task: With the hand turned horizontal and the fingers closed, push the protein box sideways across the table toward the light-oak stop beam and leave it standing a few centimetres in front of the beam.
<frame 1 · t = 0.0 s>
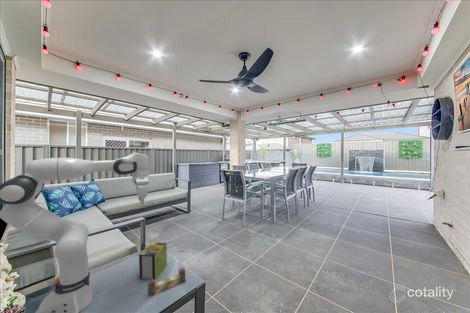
hand: (141, 202, 107), 48 cm above the table, tool pointing down, fingers open, 8 cm apart
stop beam: (167, 287, 104), on the table
protein box: (153, 271, 117), on the table
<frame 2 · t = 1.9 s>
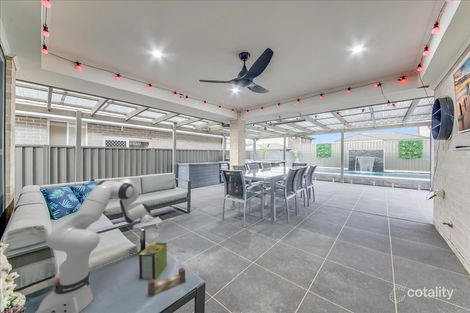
hand: (149, 229, 131), 21 cm above the table, tool horizontal, fingers open, 8 cm apart
nothing on the table moved.
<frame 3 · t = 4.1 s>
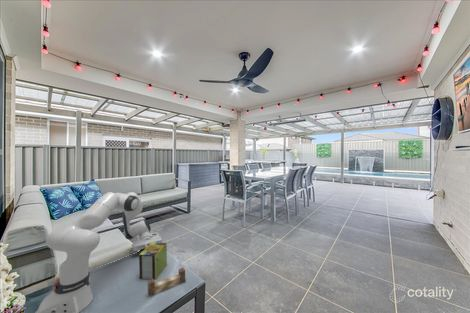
hand: (149, 248, 132), 7 cm above the table, tool horizontal, fingers closed
nothing on the table moved.
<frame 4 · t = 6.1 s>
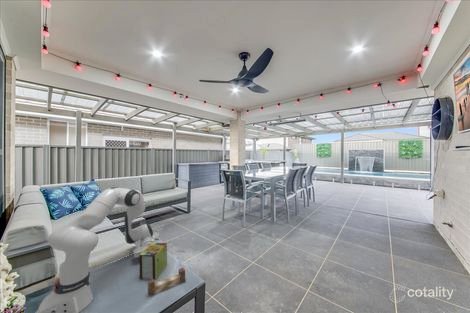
hand: (151, 254, 124), 7 cm above the table, tool horizontal, fingers closed
protein box: (154, 271, 117), on the table, touching gripper
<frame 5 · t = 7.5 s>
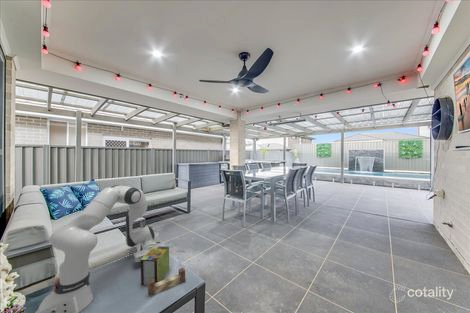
hand: (153, 258, 119), 7 cm above the table, tool horizontal, fingers closed
protein box: (156, 277, 112), on the table, touching gripper
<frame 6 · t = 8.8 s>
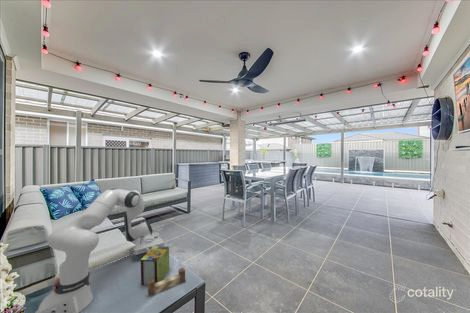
hand: (151, 251, 127), 7 cm above the table, tool horizontal, fingers closed
protein box: (156, 277, 112), on the table
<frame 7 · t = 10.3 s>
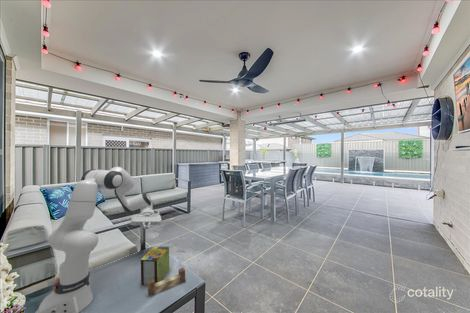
hand: (146, 228, 124), 25 cm above the table, tool tilted 70°, fingers closed
nothing on the table moved.
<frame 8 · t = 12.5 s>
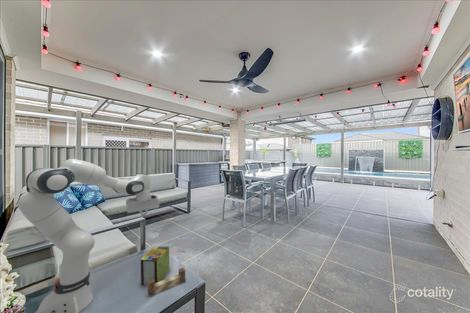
hand: (143, 216, 124), 33 cm above the table, tool pointing down, fingers closed
nothing on the table moved.
at the end: protein box inside the target area (2.7 cm from its centre), on the table; protein box tilted 0°; protein box moved 6.3 cm from its start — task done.
